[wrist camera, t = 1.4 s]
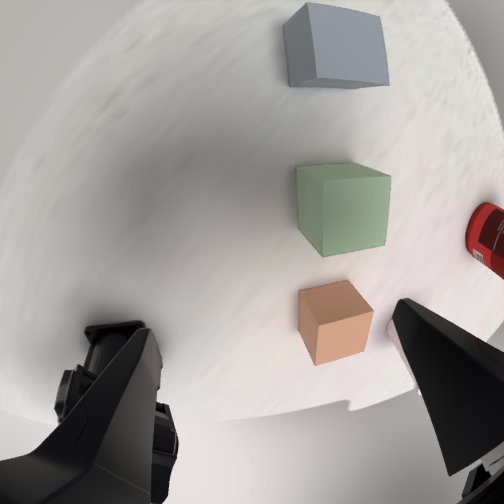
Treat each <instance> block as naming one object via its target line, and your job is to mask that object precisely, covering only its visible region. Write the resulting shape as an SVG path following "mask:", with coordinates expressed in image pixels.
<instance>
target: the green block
mask: <svg viewBox="0 0 504 504" xmlns="http://www.w3.org/2000/svg"><path fill="white" fill-rule="evenodd" d="M296 185H297V209H298V229H299V230H300V232H301V233H302V234H303V235H304V236H305V237H306V239H307V240H308V241H309V242H310V243H311V244H312V246H313V247H314V248H315V249H316V250H317V251H318V253H319V254H320V255H321V256H322V257H328V256H333V255H338V254H343V253H349V252H354V251H359V250H364V249H369V248H374V247H379V246H384V245H385V242H386V234H387V225H388V215H389V204H390V190H391V176H390V175H387V174H384V173H382V172H379V171H376V170H374V169H371V168H368V167H365V166H363V165H360V164H357V163H337V164H321V165H307V166H296Z"/></svg>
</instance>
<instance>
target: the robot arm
mask: <svg viewBox="0 0 504 504" xmlns="http://www.w3.org/2000/svg"><path fill="white" fill-rule="evenodd" d="M392 319H393V323H394V326H395V329H396V331H397V334H398V337H399V340H400V343H401V346H402V349H403V352H404V354H405V357H406V359H407V361H408V363H409V366H410V368H411V370H412V373H413V375H414V377H415V380H416V382H417V385H418V387H419V390H420V392H421V395H422V397H423V400H424V402H425V405H426V407H427V410H428V413H429V416H430V418H431V421H432V424H433V427H434V429H435V433H436V436H437V439H438V442H439V445H440V448H441V452H442V455H443V458H444V462H445V465H446V468H447V472H448V475H449V476H452V475H453V474H455V473H457V472H459V471H460V470H462V469H464V468H465V467H467V466H469V465H471V464H472V463H474V462H475V461H477V460H478V459H481V461H482V463H480V464H479V465H478V466H477V467H475V468H474V469H473V470H471V471H470V472H469V475H468V478H467V481H466V484H465V487H464V490H463V493H462V498H463V499H462V500H461V501H460V502H458V503H457V504H504V352H502V351H500V350H499V349H497V348H494V347H493V346H491V345H489V344H488V343H486V342H484V341H482V340H481V339H479V338H477V337H476V336H474V335H472V334H471V333H469V332H467V331H466V330H464V329H462V328H460V327H459V326H457V325H455V324H454V323H452V322H450V321H448V320H447V319H445V318H443V317H441V316H440V315H438V314H436V313H434V312H433V311H431V310H429V309H427V308H425V307H424V306H422V305H420V304H418V303H416V302H415V301H413V300H411V299H409V298H404V299H400V300H399V301H398V302H397V305H396V307H395V310H394V313H393V316H392ZM138 326H140V327H141V328H139V327H138ZM84 333H85V335H86V337H87V339H88V340H89V342H90V344H91V345H90V348H89V351H88V354H87V357H86V360H85V363H84V366H81V365H79V364H77V366H76V368H75V370H65V371H64V373H63V376H62V379H61V382H60V385H59V388H58V392H57V397H56V401H55V406H54V409H55V412H56V414H57V416H58V427H57V428H56V429H55V430H54V431H53V432H52V433H51V434H50V435H49V436H48V437H47V438H46V439H45V440H44V441H43V442H42V443H41V444H40V445H39V446H38V447H37V448H36V449H35V450H34V451H32V452H31V453H29V454H26V455H23V456H19V457H15V458H11V459H6V460H2V461H0V504H162V503H163V502H164V501H165V499H166V498H167V496H168V491H169V481H170V475H171V472H172V468H173V466H174V464H175V461H176V459H177V453H178V446H179V443H178V436H177V433H176V429H175V426H174V422H173V419H172V415H171V412H170V408H169V405H167V404H164V403H162V404H161V403H159V402H156V398H157V391H158V390H159V389H160V378H161V369H162V368H163V364H162V357H161V355H160V353H159V351H158V348H157V343H156V341H155V338H154V335H153V333H152V330H151V329H150V328H146V327H145V325H144V323H142V322H140V321H137V322H129V323H121V324H112V325H102V326H92V327H86V328H85V331H84Z"/></svg>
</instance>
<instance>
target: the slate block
mask: <svg viewBox="0 0 504 504" xmlns="http://www.w3.org/2000/svg"><path fill="white" fill-rule="evenodd" d="M283 33H284V41H285V49H286V57H287V66H288V76H289V86H290V87H326V88H343V89H357V88H365V87H375V86H388V85H390V84H389V73H388V64H387V56H386V49H385V42H384V36H383V30H382V24H381V19H380V17H379V16H376V15H372V14H368V13H364V12H360V11H356V10H351V9H346V8H341V7H336V6H330V5H324V4H317V3H309V2H307V3H306V4H305V5H304V6H303V7H301V8H300V9H299V10H298V11H297V12H296V13H295V14H294V15H293V16H292V17H291V18H290V19H289V20H288V21H287V22H286V23H285V24H284V25H283Z"/></svg>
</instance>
